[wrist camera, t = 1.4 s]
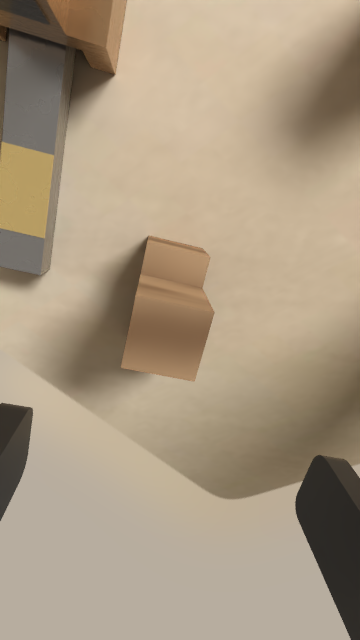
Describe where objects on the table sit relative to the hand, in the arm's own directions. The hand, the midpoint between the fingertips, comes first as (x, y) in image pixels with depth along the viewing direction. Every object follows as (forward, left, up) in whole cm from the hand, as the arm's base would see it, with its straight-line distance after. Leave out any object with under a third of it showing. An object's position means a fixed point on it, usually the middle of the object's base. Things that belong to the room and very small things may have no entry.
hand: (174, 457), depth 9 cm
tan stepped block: (0, 0, -17) cm, 17 cm away
